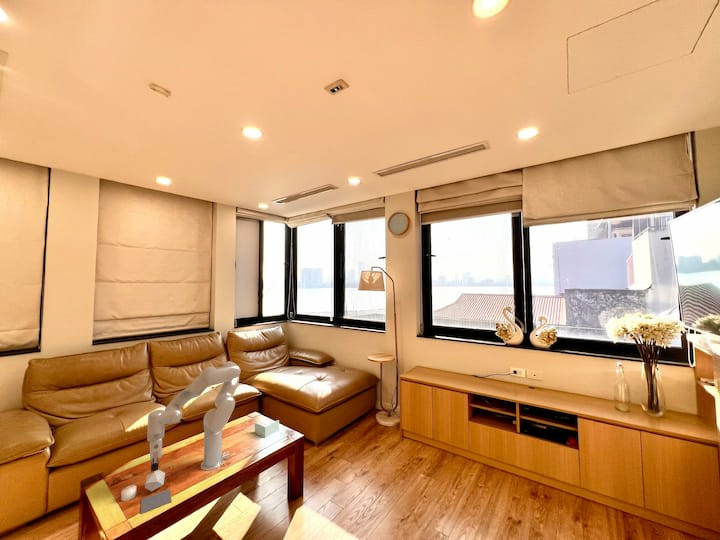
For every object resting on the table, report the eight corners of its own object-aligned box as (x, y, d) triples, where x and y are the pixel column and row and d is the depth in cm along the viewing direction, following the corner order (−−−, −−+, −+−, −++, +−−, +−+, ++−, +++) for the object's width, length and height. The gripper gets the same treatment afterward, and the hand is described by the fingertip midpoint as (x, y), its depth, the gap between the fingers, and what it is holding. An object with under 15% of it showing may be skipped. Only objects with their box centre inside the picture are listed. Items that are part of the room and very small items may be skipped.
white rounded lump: (136, 491, 148) (136, 483, 148) (136, 498, 143) (136, 489, 143) (121, 496, 144) (121, 488, 145) (120, 503, 140) (120, 495, 140)
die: (162, 478, 156) (161, 462, 155) (167, 488, 150) (167, 471, 149) (143, 488, 149) (142, 471, 148) (148, 499, 144) (147, 481, 142)
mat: (169, 489, 149) (169, 488, 149) (171, 502, 140) (171, 501, 140) (141, 500, 142) (141, 499, 142) (140, 514, 133) (140, 513, 133)
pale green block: (278, 430, 208) (279, 420, 208) (265, 438, 198) (265, 427, 198) (268, 426, 214) (268, 416, 215) (254, 433, 205) (254, 422, 205)
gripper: (165, 438, 149) (163, 474, 148) (163, 427, 161) (162, 460, 160) (147, 443, 145) (145, 480, 144) (147, 431, 157) (145, 465, 156)
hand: (154, 470), depth 152 cm, fingers closed
